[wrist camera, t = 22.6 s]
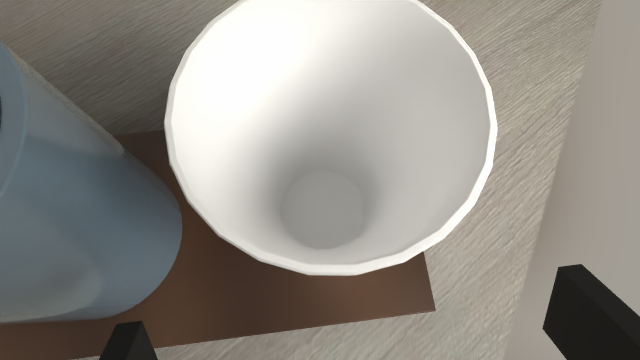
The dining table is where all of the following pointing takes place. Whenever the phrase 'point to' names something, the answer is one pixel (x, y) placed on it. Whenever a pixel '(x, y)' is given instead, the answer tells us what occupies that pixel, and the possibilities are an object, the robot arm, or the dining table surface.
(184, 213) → the walnut board
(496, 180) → the dining table surface
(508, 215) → the dining table surface
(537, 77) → the dining table surface
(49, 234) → the slate cup
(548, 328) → the robot arm
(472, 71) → the cup
